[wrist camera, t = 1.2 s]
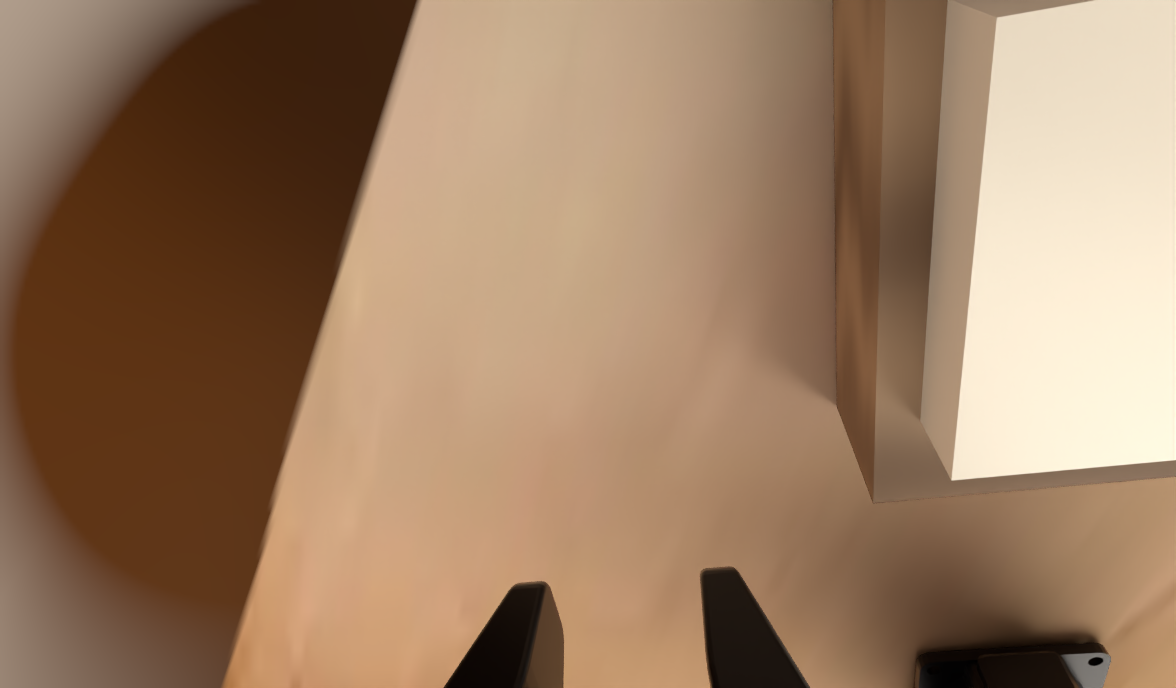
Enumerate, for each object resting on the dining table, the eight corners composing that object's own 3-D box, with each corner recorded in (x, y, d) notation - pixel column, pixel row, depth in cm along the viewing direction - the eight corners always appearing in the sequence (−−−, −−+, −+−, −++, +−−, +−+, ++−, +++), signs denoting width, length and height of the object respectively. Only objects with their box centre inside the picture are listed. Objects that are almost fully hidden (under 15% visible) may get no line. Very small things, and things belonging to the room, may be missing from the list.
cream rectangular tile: (1207, 391, 16) (1274, 450, 14) (920, 420, 17) (951, 480, 15) (1355, -76, 11) (1478, -68, 10) (947, -2, 12) (997, 17, 11)
